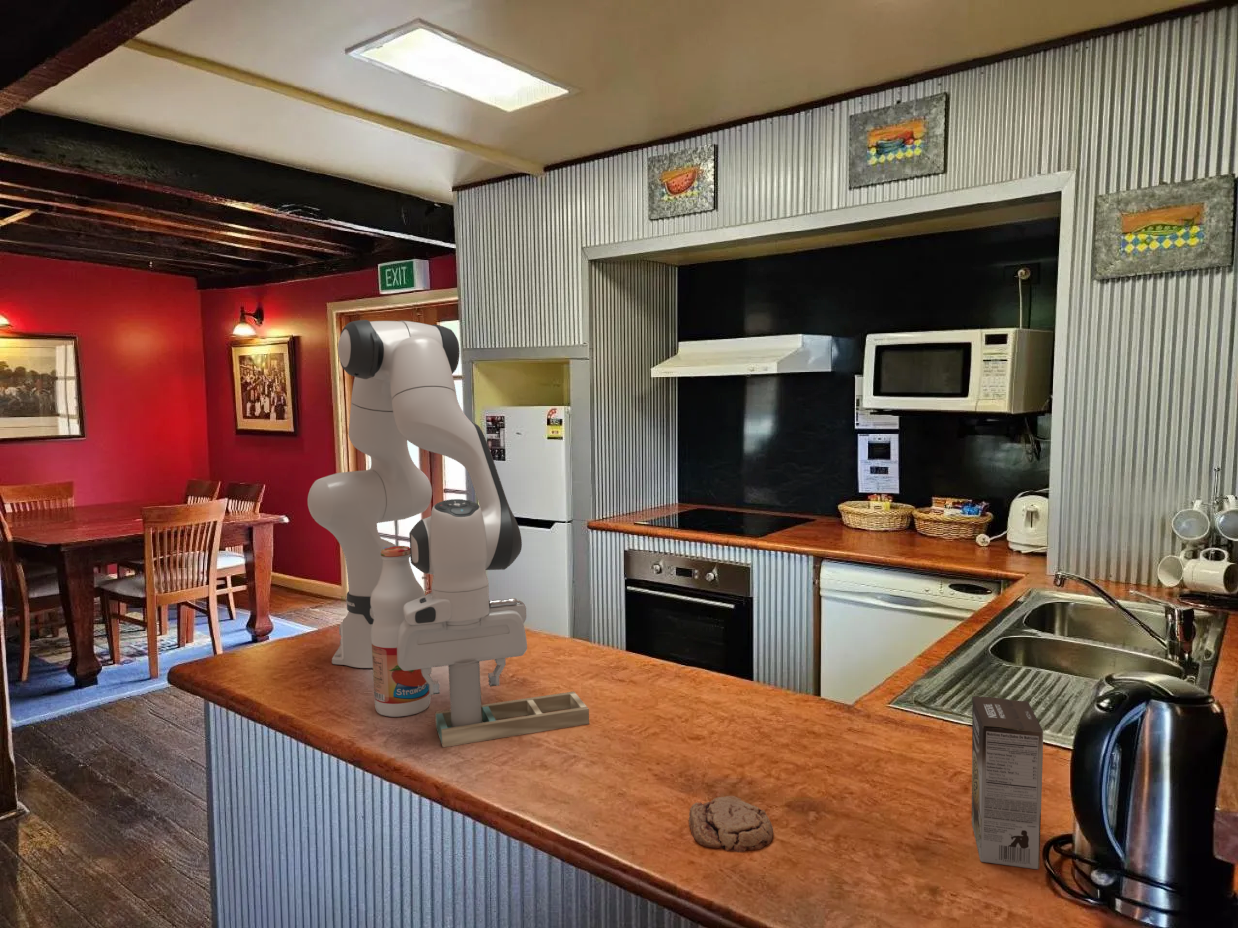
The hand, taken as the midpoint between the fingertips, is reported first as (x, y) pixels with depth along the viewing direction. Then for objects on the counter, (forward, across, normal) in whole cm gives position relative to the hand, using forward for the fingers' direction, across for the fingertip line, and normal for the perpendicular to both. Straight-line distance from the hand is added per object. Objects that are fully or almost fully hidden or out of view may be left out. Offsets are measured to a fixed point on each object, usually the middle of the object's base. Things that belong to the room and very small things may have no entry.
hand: (464, 689), depth 132 cm
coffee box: (+7, -53, +57) cm, 78 cm away
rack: (+7, -8, 0) cm, 10 cm away
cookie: (+8, -26, +42) cm, 50 cm away
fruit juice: (+7, +8, -15) cm, 19 cm away
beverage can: (+7, 0, 0) cm, 7 cm away
